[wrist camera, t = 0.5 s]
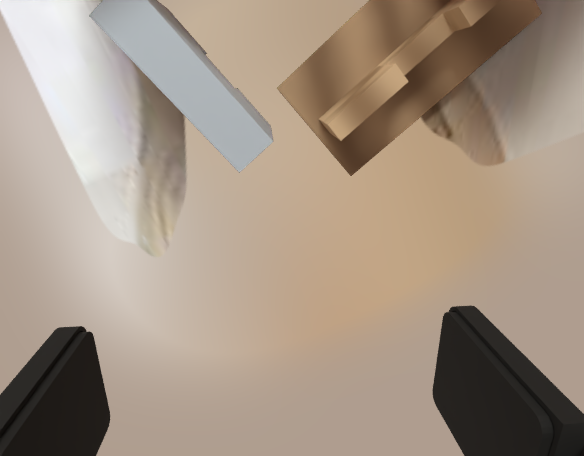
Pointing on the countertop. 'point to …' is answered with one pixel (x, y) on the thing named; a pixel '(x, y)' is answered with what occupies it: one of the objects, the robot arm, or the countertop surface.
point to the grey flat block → (186, 76)
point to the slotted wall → (396, 68)
